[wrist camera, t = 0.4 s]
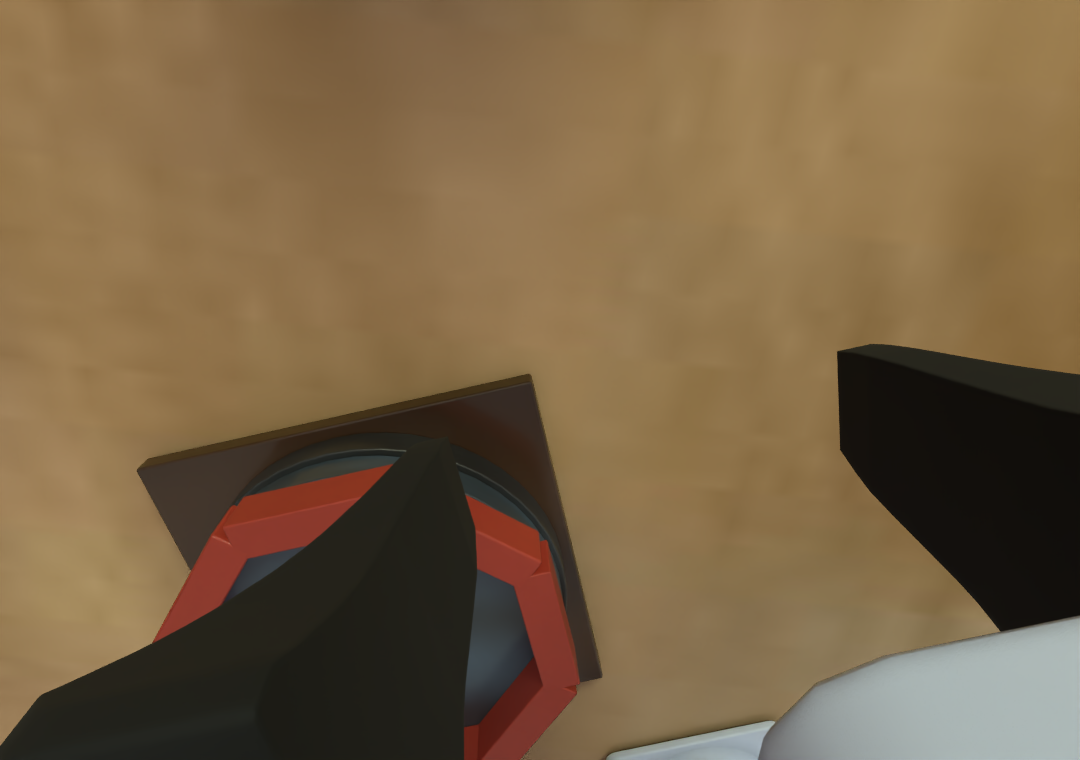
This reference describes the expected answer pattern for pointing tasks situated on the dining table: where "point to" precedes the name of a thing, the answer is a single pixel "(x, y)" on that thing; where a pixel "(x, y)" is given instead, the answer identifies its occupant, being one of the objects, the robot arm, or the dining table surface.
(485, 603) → the stand
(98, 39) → the dining table surface
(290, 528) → the brick ring
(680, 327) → the dining table surface
